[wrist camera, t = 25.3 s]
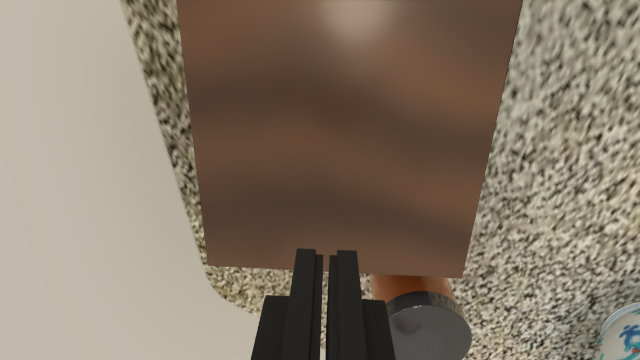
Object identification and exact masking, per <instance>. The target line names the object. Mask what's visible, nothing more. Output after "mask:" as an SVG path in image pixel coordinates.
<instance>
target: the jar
mask: <svg viewBox="0 0 640 360" xmlns="http://www.w3.org/2000/svg"><path fill="white" fill-rule="evenodd" d="M370 279H371V288H372V296H373V300H384V301H385V303H386V307H387V313H388V318H389V324H390V330H391V335H392V341H393V346H394V352H395V358H396V360H462V359H463V358H464V357H465V355H466V354H467V352H468V351H469V349H470V346H471V341H472V334H471V330H470V327H469V325H468V322H467V320H466V317H465V315H464V312H463V310H462V309H461V307H460V306H459V305H458V304H457V301H456V299H455V296H454V294H453V291H452V289H451V286H450V284H449V281H448V279H447V277H427V276H406V275H386V274H370Z"/></svg>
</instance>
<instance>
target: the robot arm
mask: <svg viewBox="0 0 640 360" xmlns="http://www.w3.org/2000/svg"><path fill="white" fill-rule="evenodd" d="M322 281H323V255H322V254H316V249H302V248H297V250H296V257H295V264H294V271H293V278H292V284H291V291H290V296H271V295H266V297H265V300H264V304H263V308H262V313H261V317H260V321H259V326H258V330H257V335H256V339H255V343H254V348H253V352H252V356H251V360H320V338H321V310H322ZM326 360H396V358H395V352H394V346H393V341H392V335H391V330H390V324H389V318H388V313H387V307H386V303H385V301H384V300H368V299H362V297H361V287H360V277H359V267H358V257H357V251H353V250H337V255H330V257H329V279H328V301H327V323H326Z"/></svg>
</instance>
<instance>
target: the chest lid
mask: <svg viewBox="0 0 640 360" xmlns="http://www.w3.org/2000/svg"><path fill="white" fill-rule="evenodd" d="M176 1H177V10H178V18H179V26H180V35H181V43H182V52H183V60H184V68H185V77H186V85H187V94H188V102H189V110H190V119H191V127H192V136H193V144H194V152H195V161H196V169H197V177H198V186H199V194H200V203H201V211H202V219H203V228H204V236H205V245H206V253H207V261H208V265H209V266H225V267H245V268H265V269H286V270H294V264H295V257H296V250H297V248H302V249H316V254H322V255H323V271H326V272H329V257H330V255H337V250H353V251H357V257H358V267H359V273H366V274H386V275H406V276H427V277H447V278H462V275H463V271H464V266H465V262H466V257H467V252H468V248H469V243H470V239H471V234H472V230H473V225H474V221H475V216H476V212H477V207H478V202H479V198H480V193H481V189H482V184H483V180H484V175H485V171H486V166H487V162H488V157H489V152H490V148H491V143H492V139H493V134H494V130H495V125H496V121H497V116H498V112H499V107H500V102H501V98H502V93H503V89H504V84H505V80H506V75H507V71H508V66H509V62H510V57H511V52H512V48H513V43H514V39H515V34H516V30H517V25H518V21H519V16H520V12H521V7H522V2H523V0H176Z"/></svg>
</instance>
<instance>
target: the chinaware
mask: <svg viewBox="0 0 640 360" xmlns="http://www.w3.org/2000/svg"><path fill="white" fill-rule="evenodd" d="M592 360H640V302H635V303H631V304H628V305H626V306H624V307H622V308H620V309H618V310H616V311H615V312H614V313H612V314H611V315H610V316H609V317H608V318H607V319H606V320H605V322H604V323H603V325H602V328H601V331H600V340H599V342H598V344H597V346H596V348H595V351H594V354H593V357H592Z"/></svg>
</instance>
